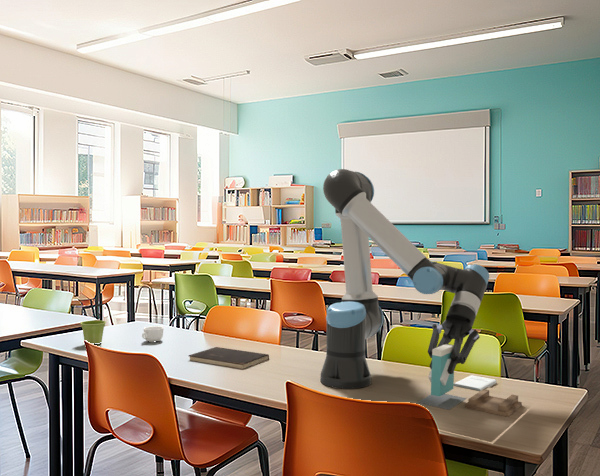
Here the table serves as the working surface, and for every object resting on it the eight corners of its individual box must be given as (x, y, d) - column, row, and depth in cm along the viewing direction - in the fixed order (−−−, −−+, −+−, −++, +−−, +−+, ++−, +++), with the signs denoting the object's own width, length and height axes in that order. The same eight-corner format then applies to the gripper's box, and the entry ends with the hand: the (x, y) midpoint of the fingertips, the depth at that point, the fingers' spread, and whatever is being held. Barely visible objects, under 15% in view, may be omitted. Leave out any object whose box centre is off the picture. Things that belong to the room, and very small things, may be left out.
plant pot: (88, 341, 221) (88, 319, 221) (110, 342, 220) (110, 320, 219) (75, 346, 212) (75, 323, 211) (98, 347, 210) (98, 324, 210)
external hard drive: (453, 388, 162) (470, 379, 172) (480, 394, 157) (496, 384, 166) (453, 383, 162) (470, 374, 172) (480, 388, 157) (496, 379, 166)
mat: (435, 393, 156) (435, 391, 156) (466, 399, 150) (466, 398, 150) (416, 403, 146) (416, 402, 146) (449, 411, 141) (449, 409, 141)
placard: (444, 386, 152) (446, 343, 152) (453, 388, 151) (454, 345, 150) (430, 394, 145) (432, 349, 145) (439, 396, 144) (441, 350, 143)
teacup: (153, 338, 227) (153, 325, 227) (167, 340, 224) (167, 327, 224) (135, 343, 219) (135, 329, 219) (149, 345, 215) (149, 331, 215)
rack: (480, 398, 151) (480, 388, 151) (521, 406, 145) (521, 396, 145) (464, 408, 143) (465, 398, 143) (508, 418, 136) (508, 407, 136)
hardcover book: (242, 370, 180) (242, 363, 180) (188, 361, 192) (188, 355, 192) (269, 360, 194) (269, 354, 194) (217, 352, 206) (217, 346, 205)
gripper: (493, 322, 155) (469, 395, 142) (440, 315, 164) (413, 383, 152) (487, 306, 151) (461, 379, 138) (433, 299, 160) (405, 367, 147)
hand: (436, 381), depth 145 cm, fingers closed on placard, 2 cm apart
